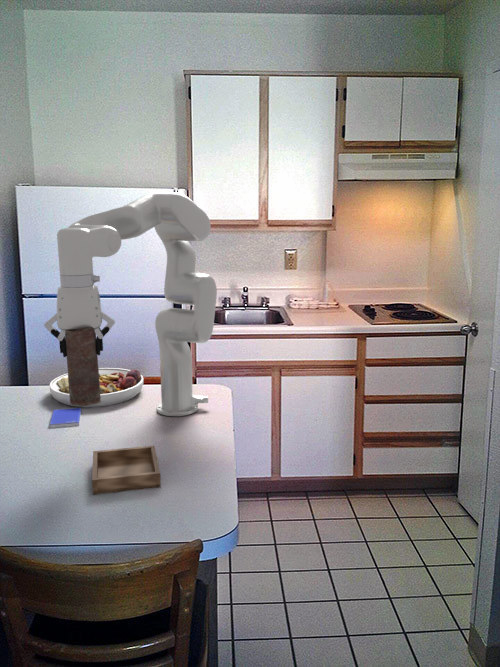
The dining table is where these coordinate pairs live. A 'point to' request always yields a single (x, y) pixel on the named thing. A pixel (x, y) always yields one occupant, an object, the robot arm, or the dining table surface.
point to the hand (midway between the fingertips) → (82, 354)
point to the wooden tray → (125, 470)
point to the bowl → (103, 386)
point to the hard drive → (65, 417)
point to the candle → (82, 366)
